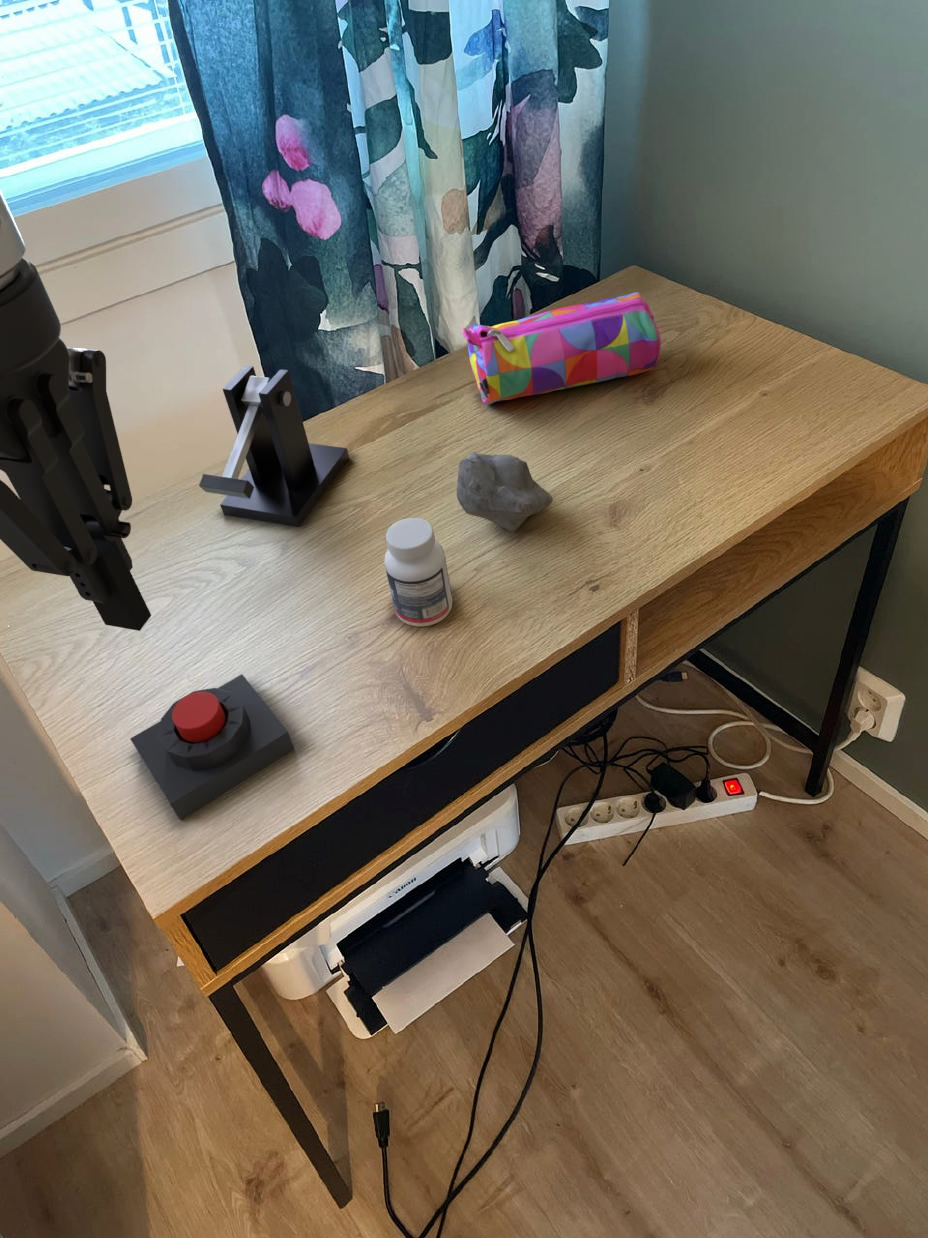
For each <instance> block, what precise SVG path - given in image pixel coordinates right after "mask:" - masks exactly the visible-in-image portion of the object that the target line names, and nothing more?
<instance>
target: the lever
mask: <svg viewBox="0 0 928 1238" xmlns="http://www.w3.org/2000/svg"><path fill="white" fill-rule="evenodd" d="M271 379H272V378H270V377H266V376H257V375H256V376H250V378H249V381H248V383H247V386H246V388H245V391H244V394H243V396H242V399H241V401H242V402H243V403H244V404H245V405H246V407H247V408H248V409H247V412H246V414H245V417H244V420H243V422H242V425H241V428H240V430H239V433H238V434H237V435H236V439H235V441H234V444H233V446H232V449H231V451H230V454H229V457H228V459H227V462H226V464H225V467H224V470H223V473H222V475H221V476H220V475H216V474H215V475H214V474H207V473H202V477H201V479H200V482H199V484H198V487H200V488H201V489H202V490H203V491H204V492H205V493H210V494H216V495H222V496H234V497H241V498H247V499H250V497H251V495H252V492H253V489H254V486H253V485H252V484H251V483H250V482H249V481H248V480H241V479H242V478H241V479H240V478H239V477H240V474H241V471H242V468H243V466H244V464H245V460H246V455H247V453H248V450H249V447H250V445H251V442H252V439H253V437H254V434H255V431H256V429H257V426H258V423H259V421H260V418H261V415H265V413H264V410H263V407H262V403H261V400H260V397H259V392H260V391H261V390H262V389H263V388H264V387H265V386H266V385H267V383H268V382H269V381H270V380H271Z"/></svg>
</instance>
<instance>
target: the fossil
mask: <svg viewBox="0 0 928 1238" xmlns="http://www.w3.org/2000/svg"><path fill="white" fill-rule="evenodd" d="M458 463H459V464H458V473H457V482H456V498H457V500H458V503H459V505H460V506H461V508H462V510H463V511H464V512H465V514H467V515H470V516H473V517H478V518H482V519H485V520H488V521H489V522H492V523H494V524H496V525H497V526H499V527H501V528H503V529H505V530H506V531H507V532H515V531H517V530H518V529H519V528H520V526H521V525H522V524H523V523H524V522H525V521H526V519H528V517H529V516H532V515H535V514H537V513H539V512H541V511H543V510H545V509H546V508H547V507H549V506H550V505H552V503H553V501H554V497H553V496H552V495H551V493H549V492H548V491H547V490H546V489H545V488H543V487H542V486H541V485H539V484H538V483H537V481H535V480H534V479H533V477H532V474H531V471H530V468H529V466H528V462H527V461H524V460H522V459H521V458H519V457H517V456H514V455H512V454H485V453H477V452H475V451H473V452H471V453H470V454H469V455H468V457H465V458H463V459H461V461H460V462H458Z"/></svg>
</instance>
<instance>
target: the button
mask: <svg viewBox="0 0 928 1238" xmlns="http://www.w3.org/2000/svg"><path fill="white" fill-rule="evenodd" d="M191 693H192V692H191ZM189 694H190V693H189ZM187 695H188V694H187ZM185 696H186V695H185ZM185 696H183V697H184V698H183V697H182V698H183V699H181V698H180V699H181V700H180V701H179V702H178V703H177V704H176V706H175V707H174V709H173V713H172V720H173V722H174V724H175V726H176V728H177V729H178V731H179V733H180V735H181V736H182V738H184V739H185V740H187V741H189V742H203V741H207V740H209V739H211V738H213V737H214V736H216V735H217V734H218V733H219V732H220V731H221V729H222V728H223V726H224V724H225V714H224V711H223V709H222V707H221V705H220V703H219V701H218V699H217V698H216V697H215V696H214V695H213V694H211V693H208V692H196V693H192V694H190V695H188V696H186V697H185Z"/></svg>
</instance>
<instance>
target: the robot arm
mask: <svg viewBox="0 0 928 1238" xmlns="http://www.w3.org/2000/svg"><path fill="white" fill-rule="evenodd" d="M25 254H26V245H25V241H24V239H23V237H22V234H21V232H20V230H19V228H18V225H17V223H16V221H15V219H14V216H13V214H12V212H11V210H10V208H9V206H8V203H7V201H6V199H5V196H4V194H3V192H2V190H1V189H0V471H2V472H3V473H4V474H5V475H6V476H7V478H8V480H9V481H10V483H11V486H12V487H13V489H14V491H13V489H11V487H9V485H8V484H6V482H4V481H3V480H1V479H0V541H1V542H2V543H3V544H4V545H5V546H6V547H7V548H9V550H10V551H11V552H12V553H14V554H15V555H16V557H17V558H19V559H20V560H21V562H23V564H24V565H25V566H27V567H28V569H29V570H31V571H32V572H37V573H44V574H50V575H56V576H63V577H69V579H70V580H71V582H72V584H73V585H74V587H75V589H76V590H77V592H78V594H79V596H80V598H82V599H83V600H85V601H89V602H92V603H93V605H94V606H95V609H96V610H97V612H98V614H99V616H100V618H101V619H102V622H103V623H104V625H105V626H110V627H115V628H120V629H126V630H132V631H138V632H141V630H142V629H143V628H144V626H145V625H146V624H147V622H148V621H149V619H150V618H151V617H152V613H151V611H150V609H149V606H148V605H147V602H146V601H145V598H144V597H143V595H142V593H141V591H140V588H139V586H138V585H137V583H136V581H135V579H134V578H135V577H134V576H133V574H132V572H131V571H132V569H133V562H132V561H133V560H132V558H131V555H130V553H129V551H128V549H127V547H126V545H125V542H124V541H123V539H127V538H128V537H129V535H130V534H131V530H132V523H131V522H128V521H121V520H120V519H119V518H120V516H121V514H122V512H123V511H125V512H127V511H129V510H130V509H131V508H132V505H133V496H132V492H131V488H130V483H129V479H128V476H127V470H126V468H125V463H124V458H123V454H122V451H121V445H120V442H119V438H118V434H117V430H116V426H115V421H114V417H113V412H112V409H111V405H110V401H109V397H108V393H107V357H106V355H105V353H104V352H103V351H102V350H100V349H87V348H74V347H67V345H66V344H65V342H64V341H63V340H62V339H61V338H60V336H61V332H62V326H61V321H60V319H59V317H58V314H57V312H56V310H55V308H54V305H53V303H52V301H51V298H50V297H49V294H48V291H47V290H46V287H45V285H44V283H43V280H42V279H41V276H40V274H39V271H38V269H37V267H36V266H35V265H34V264H33V263H32V262H30V261H28V260H26V259H25V258H24V256H25ZM105 486H109V488H105ZM15 492H16V493H15Z"/></svg>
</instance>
